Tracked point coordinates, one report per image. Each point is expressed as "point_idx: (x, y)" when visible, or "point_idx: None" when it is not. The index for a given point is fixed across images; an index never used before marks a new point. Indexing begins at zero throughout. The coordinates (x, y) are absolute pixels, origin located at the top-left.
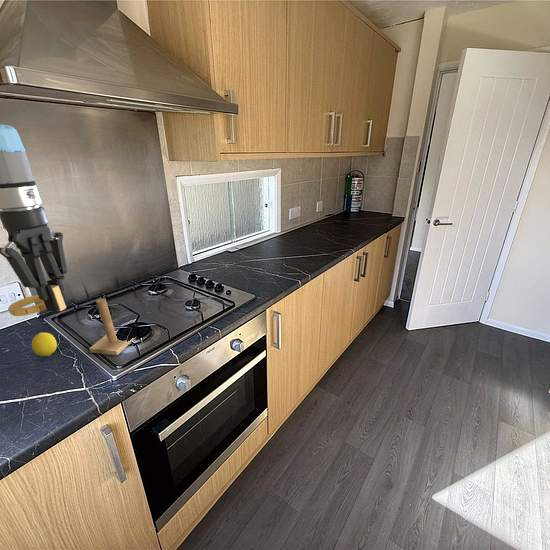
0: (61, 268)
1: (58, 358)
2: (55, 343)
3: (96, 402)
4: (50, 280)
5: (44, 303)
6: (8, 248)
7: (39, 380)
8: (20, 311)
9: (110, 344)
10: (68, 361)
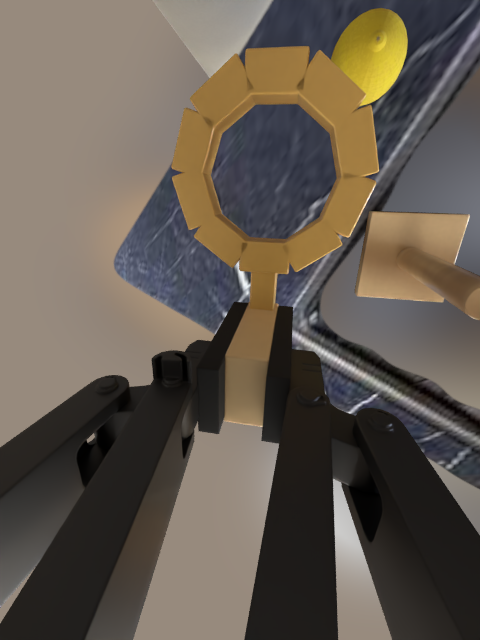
0: (351, 512)
1: None
2: (374, 100)
3: None
4: (282, 391)
5: (227, 314)
6: None
7: (256, 158)
8: (184, 207)
9: (389, 262)
10: (330, 174)
